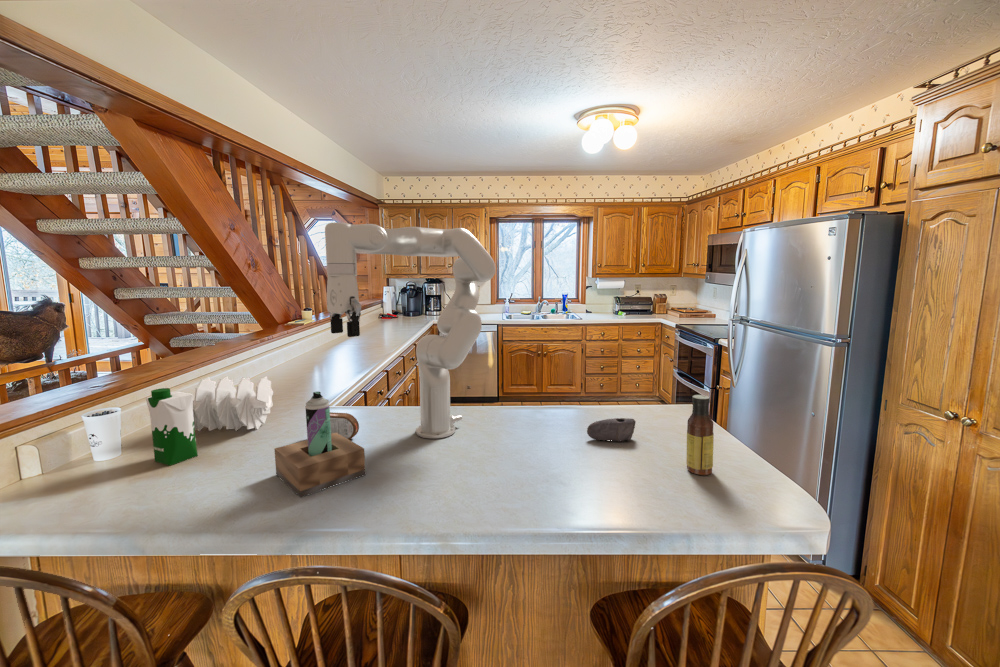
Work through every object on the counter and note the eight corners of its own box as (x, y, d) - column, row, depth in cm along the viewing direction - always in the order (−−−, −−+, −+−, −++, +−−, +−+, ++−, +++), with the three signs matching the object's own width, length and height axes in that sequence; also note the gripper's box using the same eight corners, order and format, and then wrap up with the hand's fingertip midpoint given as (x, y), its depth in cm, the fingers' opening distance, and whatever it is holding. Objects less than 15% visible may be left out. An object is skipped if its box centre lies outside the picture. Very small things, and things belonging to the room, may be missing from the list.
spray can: (313, 464, 112) (309, 389, 110) (335, 463, 113) (331, 389, 110) (306, 474, 107) (301, 395, 104) (329, 473, 107) (324, 395, 105)
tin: (360, 438, 135) (358, 412, 133) (355, 442, 131) (354, 415, 130) (313, 436, 136) (312, 411, 135) (308, 440, 133) (306, 414, 132)
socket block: (337, 456, 121) (336, 432, 120) (365, 474, 110) (364, 448, 109) (276, 474, 110) (274, 448, 109) (300, 497, 99) (298, 468, 98)
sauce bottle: (710, 467, 114) (715, 394, 111) (713, 478, 108) (719, 401, 106) (683, 464, 116) (688, 392, 114) (685, 474, 110) (690, 398, 108)
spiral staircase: (201, 437, 146) (278, 431, 149) (166, 432, 130) (253, 425, 132) (208, 384, 152) (282, 379, 154) (175, 372, 135) (258, 367, 137)
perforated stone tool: (587, 443, 131) (588, 421, 130) (585, 436, 136) (586, 415, 135) (638, 444, 130) (639, 422, 129) (633, 437, 135) (634, 416, 134)
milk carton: (149, 462, 117) (141, 390, 115) (184, 450, 126) (178, 382, 123) (167, 468, 114) (160, 394, 111) (203, 455, 122) (197, 386, 119)
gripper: (314, 271, 118) (318, 333, 121) (343, 270, 106) (346, 339, 109) (341, 271, 124) (343, 330, 126) (371, 270, 112) (373, 336, 114)
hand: (345, 334), depth 117 cm, fingers open, 9 cm apart
